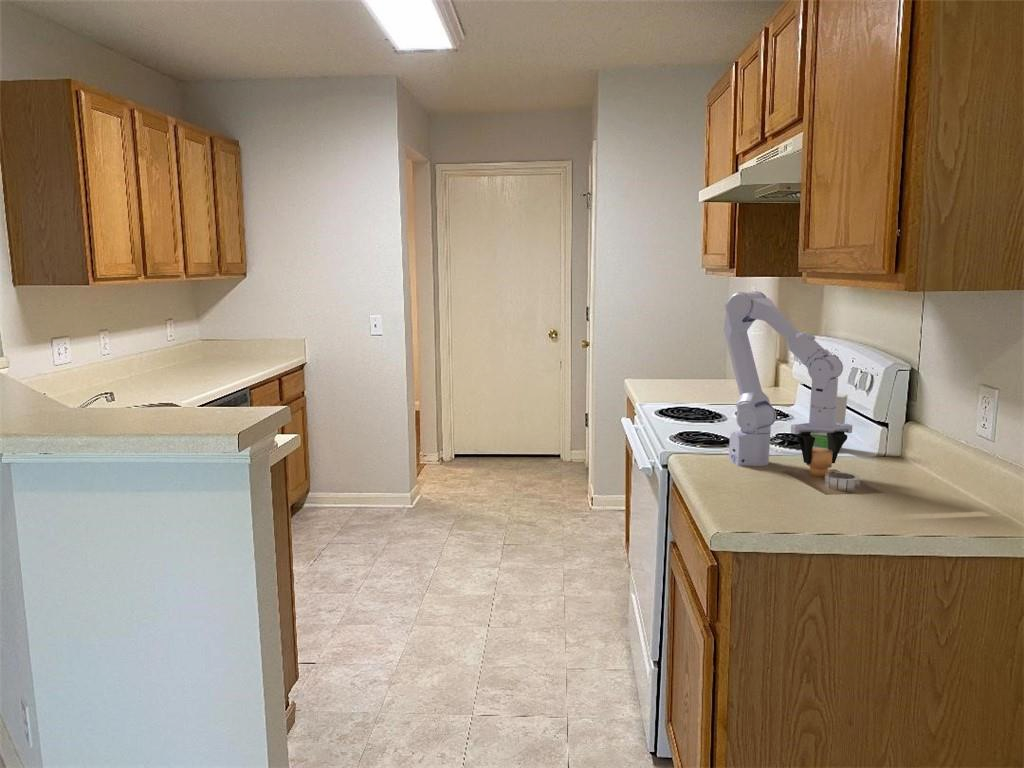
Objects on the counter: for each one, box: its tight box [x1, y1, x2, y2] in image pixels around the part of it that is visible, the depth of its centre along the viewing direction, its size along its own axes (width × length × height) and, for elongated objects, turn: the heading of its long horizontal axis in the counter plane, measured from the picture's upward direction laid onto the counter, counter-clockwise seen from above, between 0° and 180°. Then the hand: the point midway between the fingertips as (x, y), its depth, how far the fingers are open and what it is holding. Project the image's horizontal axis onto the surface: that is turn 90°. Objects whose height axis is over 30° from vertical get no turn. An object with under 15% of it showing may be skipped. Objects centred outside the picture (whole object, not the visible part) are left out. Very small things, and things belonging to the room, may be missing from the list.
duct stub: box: [824, 471, 861, 491], centre depth 174 cm, size 7×7×2 cm
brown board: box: [782, 468, 886, 495], centre depth 179 cm, size 14×20×1 cm
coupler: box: [806, 448, 833, 477], centre depth 184 cm, size 6×6×6 cm
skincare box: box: [811, 392, 848, 453], centre depth 215 cm, size 8×7×16 cm
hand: (819, 462), depth 184 cm, fingers closed on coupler, 6 cm apart
